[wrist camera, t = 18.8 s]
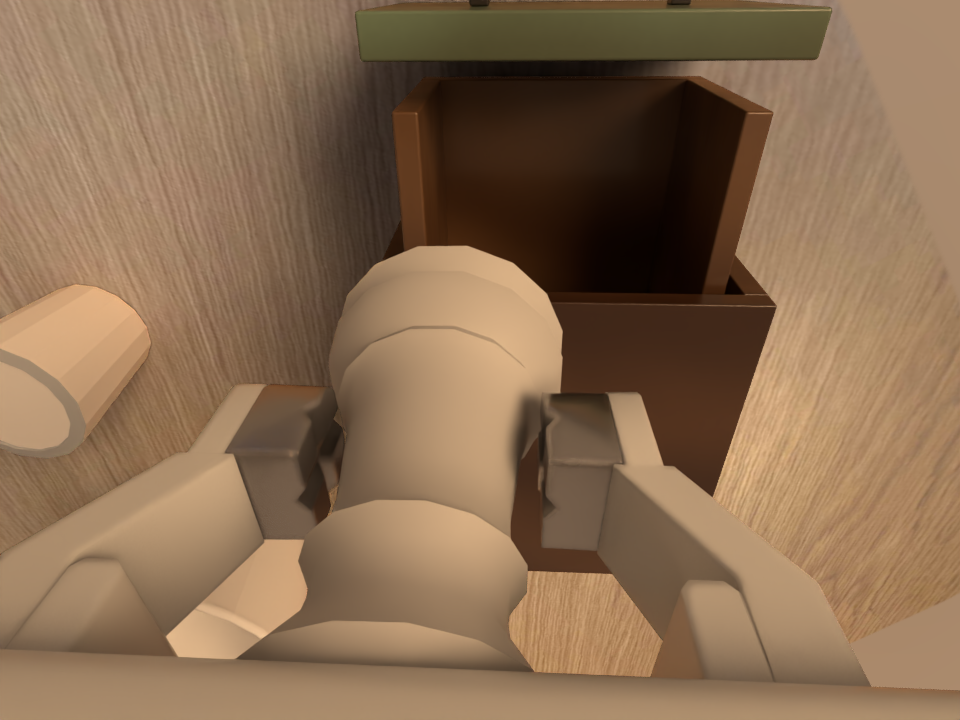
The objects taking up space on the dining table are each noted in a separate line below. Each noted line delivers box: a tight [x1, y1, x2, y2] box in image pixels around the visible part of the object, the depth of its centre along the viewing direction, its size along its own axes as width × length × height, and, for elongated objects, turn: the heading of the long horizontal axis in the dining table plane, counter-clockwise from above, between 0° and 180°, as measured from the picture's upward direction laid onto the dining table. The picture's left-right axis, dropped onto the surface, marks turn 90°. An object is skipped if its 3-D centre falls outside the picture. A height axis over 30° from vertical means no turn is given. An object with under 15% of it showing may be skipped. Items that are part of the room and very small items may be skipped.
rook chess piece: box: [236, 246, 563, 672], centre depth 8 cm, size 4×4×8 cm
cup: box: [166, 539, 307, 659], centre depth 33 cm, size 12×12×12 cm
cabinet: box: [382, 221, 776, 574], centre depth 26 cm, size 15×14×10 cm
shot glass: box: [0, 284, 151, 459], centre depth 28 cm, size 7×7×7 cm
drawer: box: [355, 0, 832, 295], centre depth 20 cm, size 18×12×8 cm
